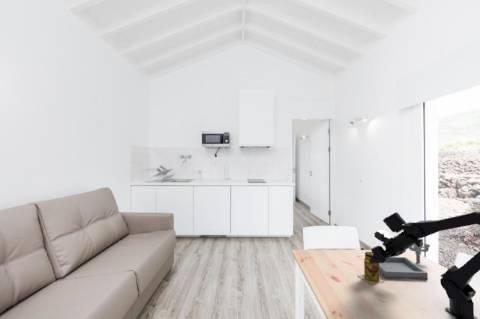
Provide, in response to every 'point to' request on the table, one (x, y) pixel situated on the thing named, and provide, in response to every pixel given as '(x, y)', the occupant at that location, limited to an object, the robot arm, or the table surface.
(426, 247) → the mechanical component
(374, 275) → the condiment
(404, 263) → the tray
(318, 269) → the table surface
